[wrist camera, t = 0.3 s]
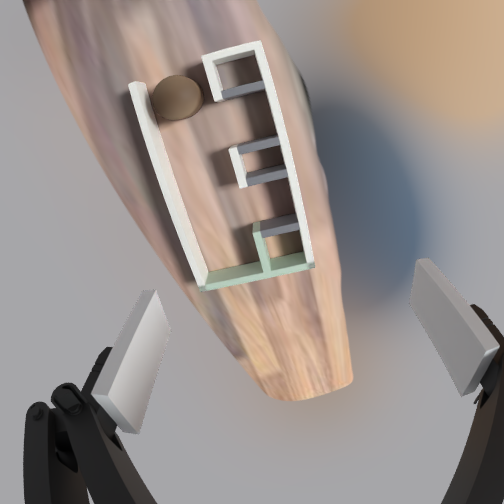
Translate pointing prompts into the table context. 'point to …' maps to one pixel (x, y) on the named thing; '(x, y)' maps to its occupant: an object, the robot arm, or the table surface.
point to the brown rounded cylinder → (177, 97)
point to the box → (261, 228)
